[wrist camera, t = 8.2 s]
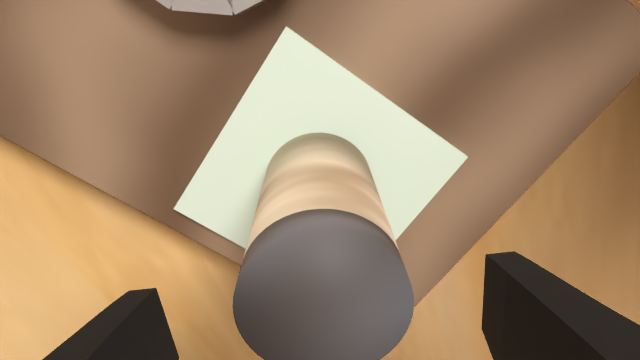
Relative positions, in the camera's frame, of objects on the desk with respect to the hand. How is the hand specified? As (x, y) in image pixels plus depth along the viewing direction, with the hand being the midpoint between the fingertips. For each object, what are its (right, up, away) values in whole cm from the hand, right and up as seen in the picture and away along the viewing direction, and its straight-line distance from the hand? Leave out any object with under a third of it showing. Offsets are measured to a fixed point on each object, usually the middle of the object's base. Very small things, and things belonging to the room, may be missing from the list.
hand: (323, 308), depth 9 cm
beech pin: (0, +3, +6) cm, 7 cm away
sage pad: (0, +3, +7) cm, 7 cm away
